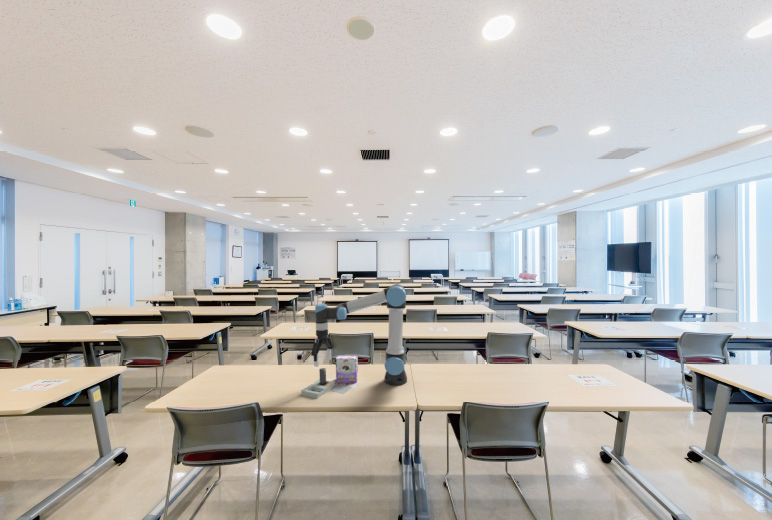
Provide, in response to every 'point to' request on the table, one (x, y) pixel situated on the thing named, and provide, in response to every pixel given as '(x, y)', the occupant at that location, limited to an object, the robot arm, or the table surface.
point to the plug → (322, 376)
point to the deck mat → (341, 389)
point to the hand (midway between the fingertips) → (323, 362)
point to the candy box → (347, 369)
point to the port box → (317, 389)
